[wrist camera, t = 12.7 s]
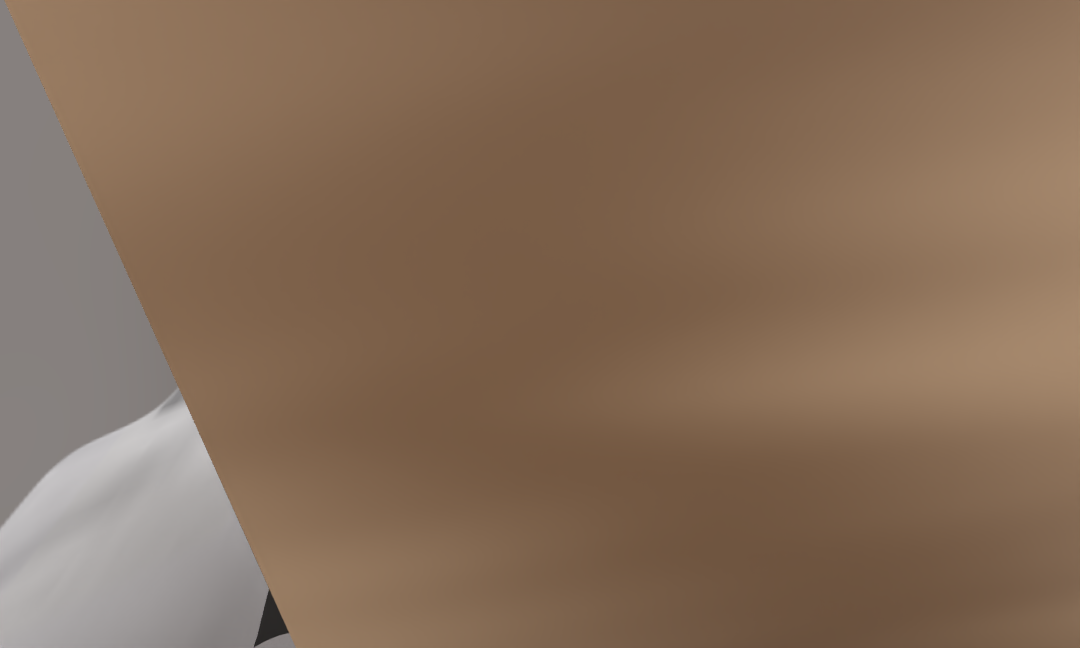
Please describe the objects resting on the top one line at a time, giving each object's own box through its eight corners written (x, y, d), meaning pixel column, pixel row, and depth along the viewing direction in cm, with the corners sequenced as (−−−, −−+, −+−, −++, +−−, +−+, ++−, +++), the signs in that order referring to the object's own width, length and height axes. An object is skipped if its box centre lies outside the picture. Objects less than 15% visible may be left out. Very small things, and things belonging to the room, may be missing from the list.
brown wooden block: (783, 681, 14) (910, -215, 7) (940, 1076, 10) (1898, -347, 2) (498, 724, 14) (301, -146, 7) (520, 1146, 10) (-56, -131, 2)
